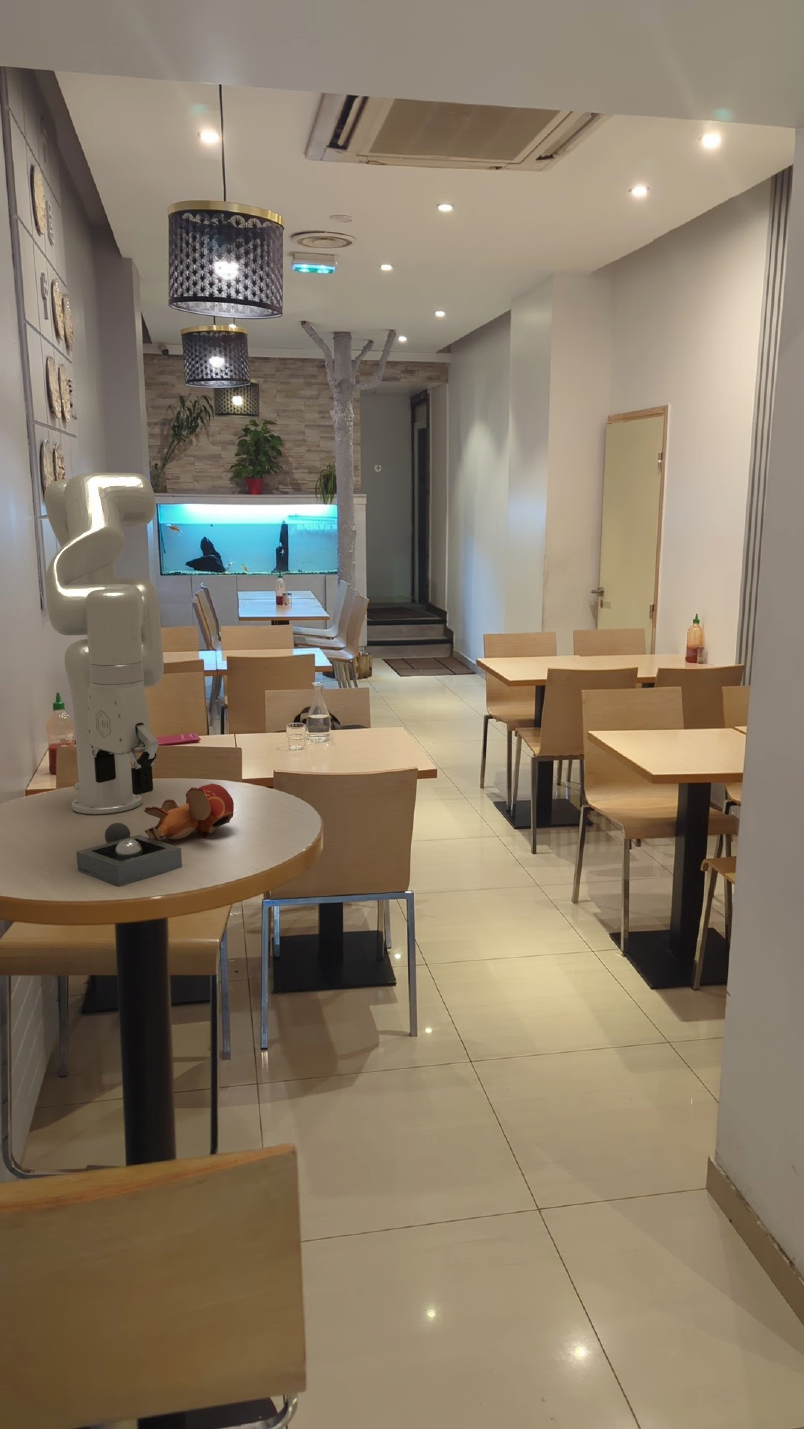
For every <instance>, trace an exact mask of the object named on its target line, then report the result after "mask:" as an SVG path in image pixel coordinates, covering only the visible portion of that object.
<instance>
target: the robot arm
mask: <svg viewBox="0 0 804 1429" xmlns="http://www.w3.org/2000/svg"><path fill="white" fill-rule="evenodd" d="M44 506H45V512H46V515H47V519H48V521H49V525H50V527H51V529H52V531H53V533H54V536H55V538H56V540H57V542H58V544H59V547H60V548H59V549H58V551H56V552H55V554H54V555H53V557H52V558H51V560H50V562H49V564H48V567H47V569H46V573H45V574H46V575H45V592H46V593H45V594H46V595H45V596H46V605H47V606H46V607H47V613H48V614H47V615H48V618H49V622H50V625H51V626H52V628H53V630H54V631H55V632H57V633H59V634H61V635H63V636H68V637H69V636H86V637H87V638H84V639H80V640H76V641H75V642H73V643H71V644H70V645H68V646H67V648H66V650H65V652H64V659H63V660H64V668H65V672H66V677H67V682H68V686H69V690H70V695H71V701H72V711H73V712H72V713H73V720H74V722H73V723H74V732H75V733H74V734H75V748H76V749H75V750H76V759H77V761H76V762H77V763H76V764H77V772H78V774H77V775H78V776H77V777H78V781H77V782H76V783H75V784H74V785H73V786H74V787H73V788H74V789H75V790H77V791H78V793H79V795H78V796H79V797H78V798H75V799H74V800H73V801H72V802H71V809H72V810H73V811H75V812H76V813H80V814H88V815H104V814H113V813H114V814H116V813H119V812H121V813H122V812H125V811H129V810H133V809H134V808H137V807H139V806H140V805H141V804H142V796H141V795H143V794H146V793H150V792H153V791H154V782H153V780H154V778H153V766H154V765H155V760H156V758H157V751H158V747H159V740H158V739H157V738H156V737H155V736H154V735H153V733H151V725H150V722H151V721H150V714H149V707H148V700H147V696H146V695H147V694H146V690H145V688H150V687H154V686H156V685H158V684H160V683H161V681H162V679H163V678H164V671H165V670H164V669H165V668H164V667H165V665H164V664H165V662H164V651H163V650H164V649H163V639H162V638H163V637H162V628H161V616H160V606H159V599H158V593H157V590H156V588H155V586H154V584H153V583H152V582H150V580H148V579H146V578H142V577H116V575H115V570H114V569H115V568H114V563H115V562H117V561H118V560H119V559H120V558H121V557H122V556H123V554H124V552H125V550H126V544H127V543H126V537H125V532H124V528H141V527H143V526H146V525H149V524H150V523H151V522H152V521H153V519H154V517H155V513H156V497H155V492H154V489H153V487H152V484H151V482H150V481H149V479H148V478H147V477H146V476H145V475H143V474H141V473H138V472H137V473H135V472H95V471H94V472H83V473H79V474H77V475H76V474H75V476H73V477H71V478H66V479H64V478H63V479H59V480H55V481H52V482H50V483H48V485H47V486H46V487H45V490H44ZM138 754H141V755H140V756H139V757H138ZM131 765H132V766H133V767H132V766H131Z"/></svg>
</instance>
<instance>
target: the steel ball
mask: <svg viewBox="0 0 804 1429" xmlns="http://www.w3.org/2000/svg"><path fill="white" fill-rule="evenodd" d="M142 853H143V851H142V847H141V845H140V844H139V843H138V842H137V841H136V840H133V839H125V840H123V841H121V842H120V843H119V844H118V845H117V847H116V850H115V856H116V859H117V860H118V861H120V862H121V861H125V860H128V859H132V858H135V857H139V856H142Z"/></svg>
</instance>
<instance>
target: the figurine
mask: <svg viewBox="0 0 804 1429" xmlns="http://www.w3.org/2000/svg"><path fill="white" fill-rule="evenodd" d="M186 791H187V792H186V793H185V804H184V805H182V806H179V805H178V804H177V802H176V801H175V800H174V799H165V800H164V801H163V802H162V805H161V807H159V806H158V807H157V806H151V807H150V806H147V807H144V810H143V812H144V813H145V814H147V815H149V816H152V817H156V818H158V819H159V820H158V823H157V824H156V825H155V826H153V827H152V826H151V828H148V829H145V830H144V832H145V834H147V837H148V838H151V839H155V840H158V841H160V840H162V839H163V838H166V839H170V840H176V841H177V840H181V839H185V838H186V837H188V836H189V835H191V834H192V833H193V832H197V834H201V835H202V838H207V837H209V836H210V835H212V834H213V833H214V832H215V830H217V829H218V828H220V827H221V826H224V825H226V824H229V823H230V821H231V820H232V818H233V817H234V809H235V807H234V806H235V805H234V804H235V803H234V799H233V797H232V796H231V794H230V793H229V792H228V790H227V789H226V788H224V786H222V785H220V784H216V783H209V784H206V785H202V786H199V787H196V786H195V787H190V788H188V790H186Z"/></svg>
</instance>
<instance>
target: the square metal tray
mask: <svg viewBox="0 0 804 1429" xmlns="http://www.w3.org/2000/svg"><path fill="white" fill-rule="evenodd" d="M125 839H133V840H136V841H137V842H138V843H139V844H140V845H141V847H142V851H143V853H142V856H139V857H135V858H132V859H128V860H125V861H121V862H120V861H118V860H117V859H116V856H115V850H116V847H117V845H118V844H119V843H120V842H121V841H123V840H125ZM125 839H121V840H117V841H114V842H110V843H107V842H106V843H102V844H99V845H96V846H92V847H91V846H90V847H87V848H84V849H81V850H77V851H76V862H77V863H76V864H77V871H78V872H81V873H83V874H85V875H88V876H91V877H93V878H96V879H98V880H101V881H104V882H105V883H106V882H107V883H108V884H112V885H114V886H116V887H121V886H124V885H127V884H132V883H134V882H138V881H141V880H144V879H147V878H151V877H153V876H157V875H161V874H163V873H167V872H169V871H173V870H176V869H180V868H182V867H183V863H182V862H183V860H182V848H181V847H179V846H176V845H173V844H170V843H168V842H163V841H161V840H155V839H151V838H149V837H148V836H144V835H141V834H136V835H132V836H130V837H129V838H125Z"/></svg>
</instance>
